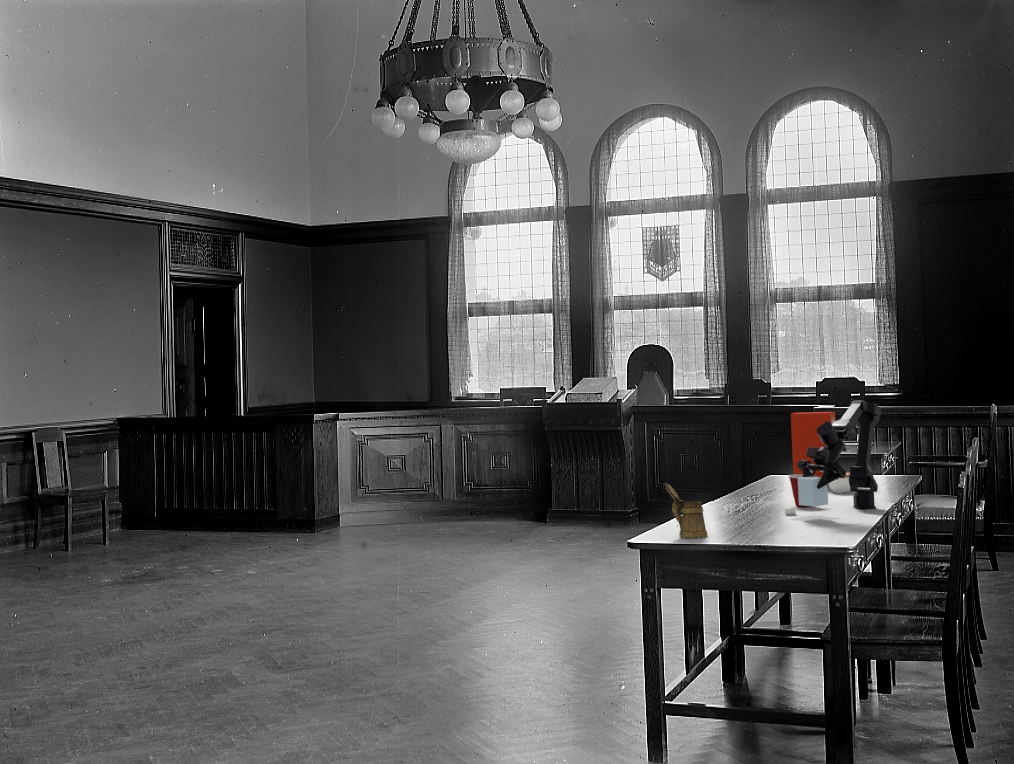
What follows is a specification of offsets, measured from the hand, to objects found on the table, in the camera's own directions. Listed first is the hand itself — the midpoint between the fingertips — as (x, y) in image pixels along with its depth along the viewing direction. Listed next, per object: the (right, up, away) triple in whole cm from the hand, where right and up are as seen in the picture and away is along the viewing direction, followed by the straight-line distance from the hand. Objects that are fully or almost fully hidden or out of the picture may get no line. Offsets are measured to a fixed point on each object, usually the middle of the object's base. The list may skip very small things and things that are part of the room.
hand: (809, 487), depth 382 cm
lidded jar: (+33, -9, +71) cm, 79 cm away
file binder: (+30, -9, +99) cm, 104 cm away
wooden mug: (-46, -15, -20) cm, 53 cm away
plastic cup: (+8, -11, +36) cm, 38 cm away
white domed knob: (-3, -12, +13) cm, 18 cm away
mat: (+2, -12, +1) cm, 12 cm away
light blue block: (+2, -6, +1) cm, 6 cm away
